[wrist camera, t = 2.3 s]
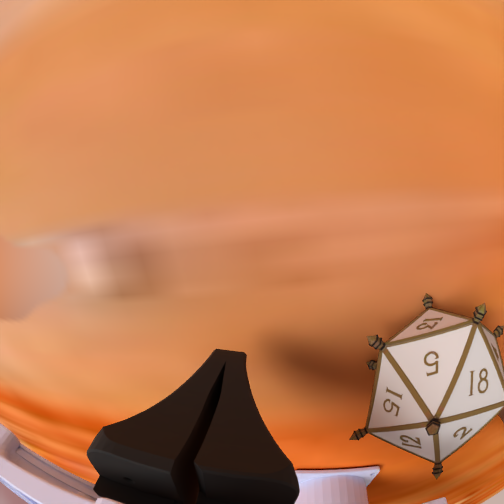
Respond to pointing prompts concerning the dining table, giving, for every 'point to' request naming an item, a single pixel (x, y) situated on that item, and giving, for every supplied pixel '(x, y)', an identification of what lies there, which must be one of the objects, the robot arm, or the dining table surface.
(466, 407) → the game die
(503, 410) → the batten
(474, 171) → the dining table surface
